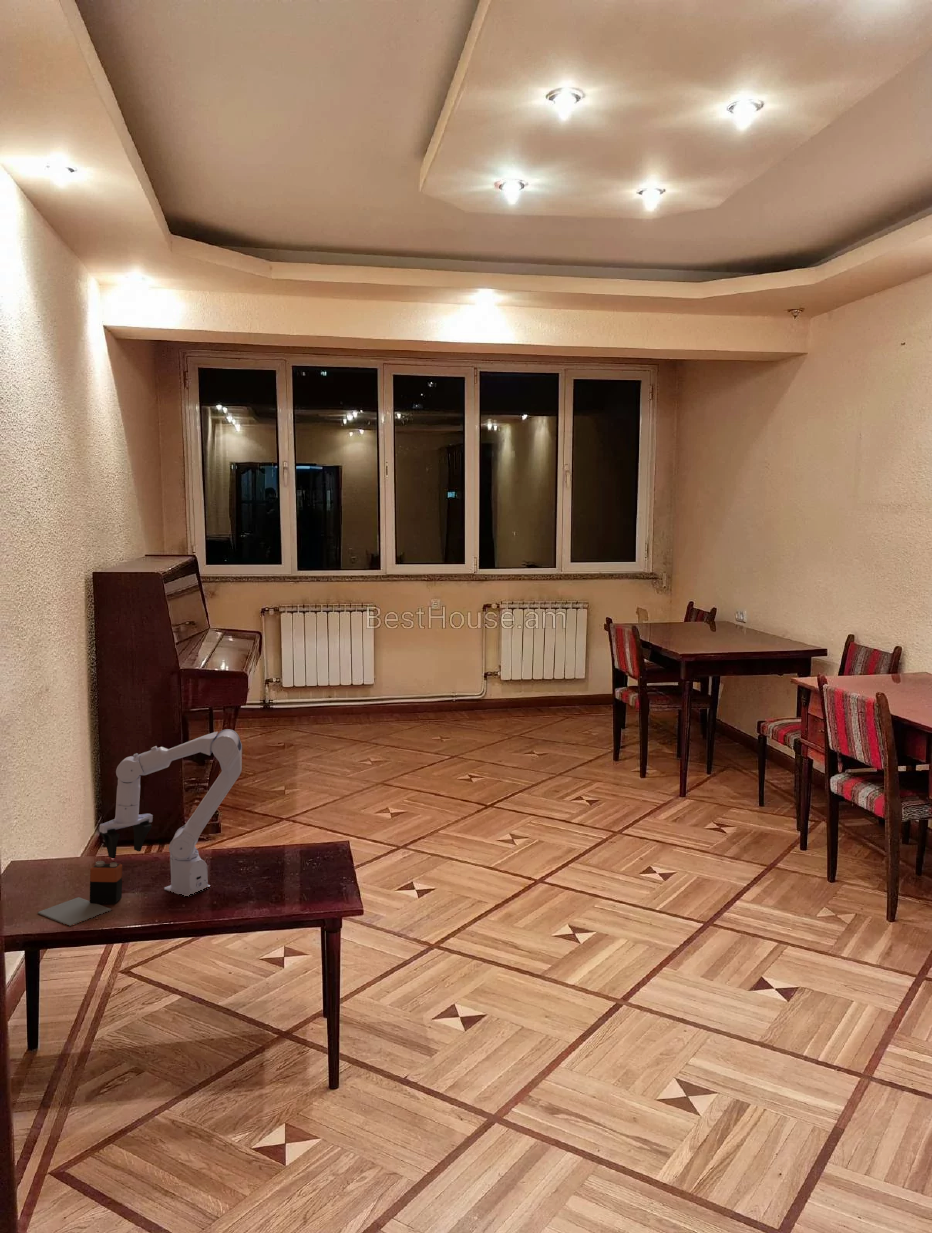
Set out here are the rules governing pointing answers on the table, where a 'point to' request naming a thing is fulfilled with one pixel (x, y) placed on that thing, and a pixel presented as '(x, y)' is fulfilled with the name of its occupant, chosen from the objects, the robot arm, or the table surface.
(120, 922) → the table surface
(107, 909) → the mat
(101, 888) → the battery
